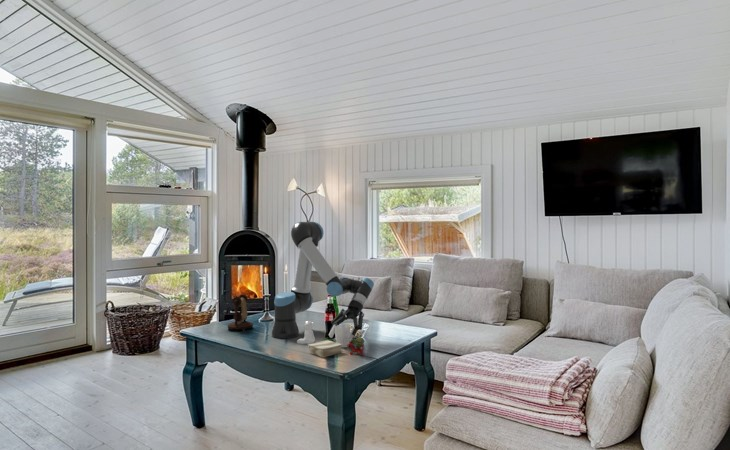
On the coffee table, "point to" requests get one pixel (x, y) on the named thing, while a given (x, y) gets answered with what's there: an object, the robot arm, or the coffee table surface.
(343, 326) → the white cup
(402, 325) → the coffee table surface
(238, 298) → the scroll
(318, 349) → the birch stand
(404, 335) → the coffee table surface
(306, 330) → the sitting furry creature
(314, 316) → the coffee table surface
